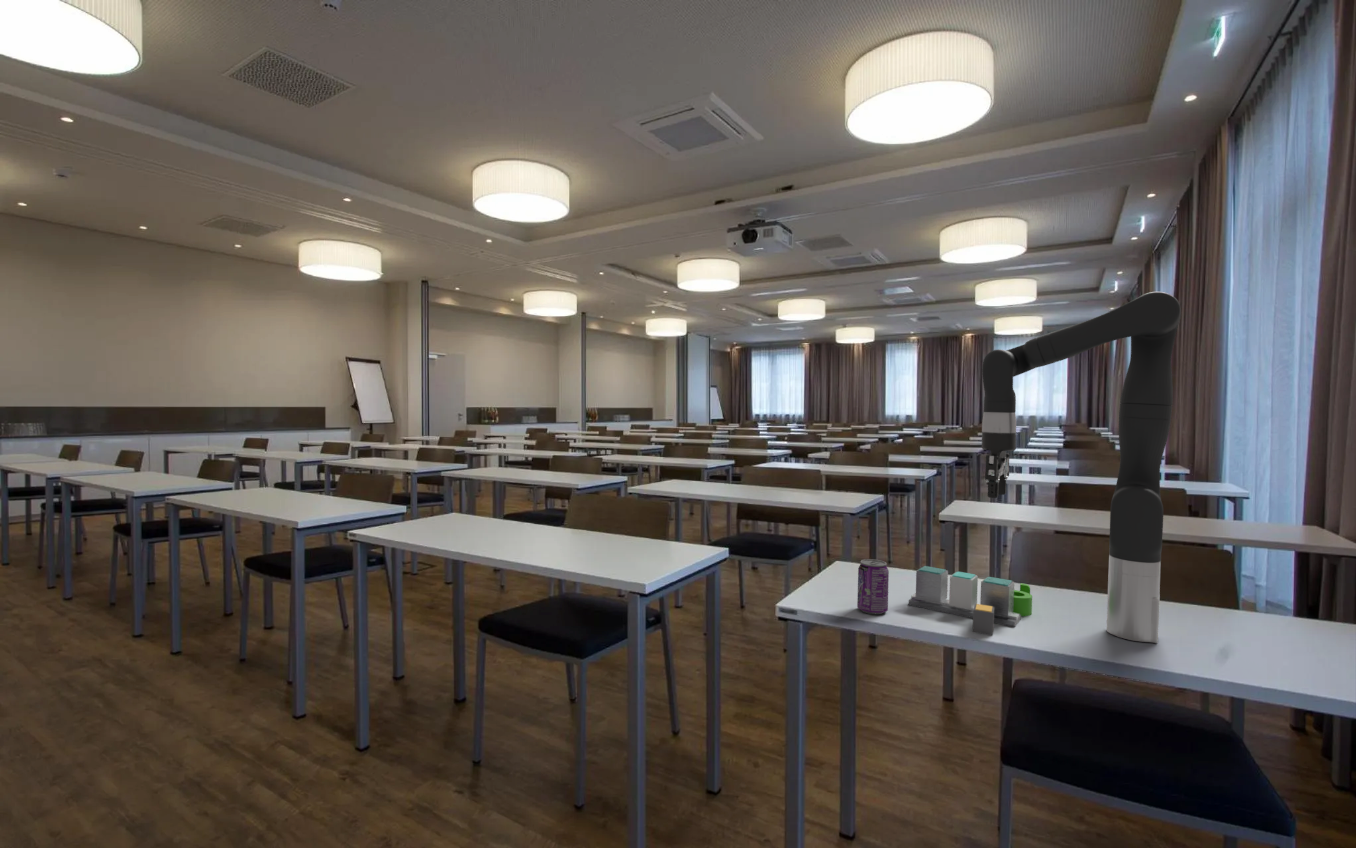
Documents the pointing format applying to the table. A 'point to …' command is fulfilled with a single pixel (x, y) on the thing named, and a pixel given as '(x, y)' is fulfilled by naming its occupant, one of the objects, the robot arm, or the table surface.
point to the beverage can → (873, 586)
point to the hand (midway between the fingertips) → (996, 495)
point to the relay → (983, 619)
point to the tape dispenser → (1023, 600)
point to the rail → (935, 598)
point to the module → (963, 590)
